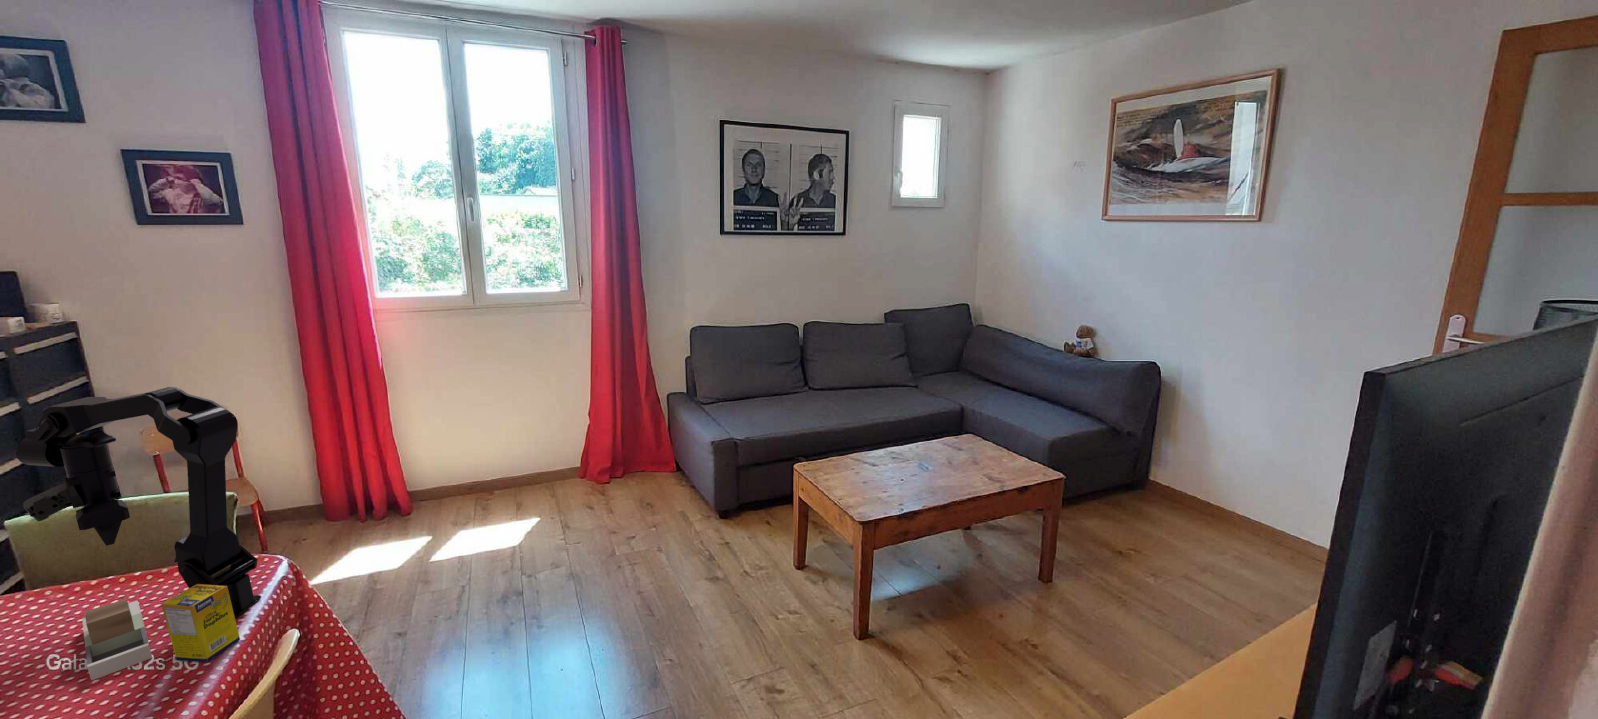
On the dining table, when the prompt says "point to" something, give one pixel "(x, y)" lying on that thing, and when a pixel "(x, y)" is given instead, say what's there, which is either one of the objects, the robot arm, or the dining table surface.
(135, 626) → the pad
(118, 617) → the walnut block
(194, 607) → the supplement box
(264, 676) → the dining table surface
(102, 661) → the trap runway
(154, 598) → the dining table surface
